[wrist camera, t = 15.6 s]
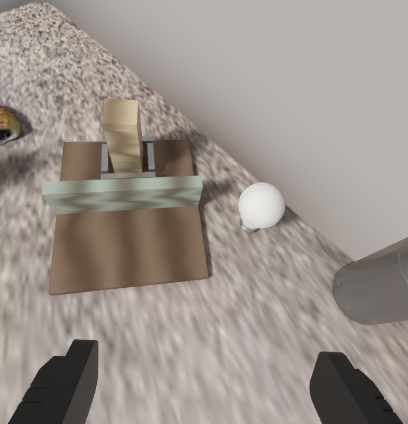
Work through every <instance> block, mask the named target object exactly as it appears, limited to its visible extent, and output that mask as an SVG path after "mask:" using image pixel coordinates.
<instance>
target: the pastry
mask: <svg viewBox="0 0 408 424" xmlns="http://www.w3.org/2000/svg"><path fill="white" fill-rule="evenodd" d="M19 134H20V123H19V121H17V119H16V118H15V117H14V116H13V114H12V113H10V112H9V111H8V110H7V109H5V108H4V107H1V106H0V145H2V144H4V143H6V142H7V141H9V140H12V139H15V138H17V137H18V136H19Z"/></svg>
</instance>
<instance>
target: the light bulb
mask: <svg viewBox="0 0 408 424" xmlns="http://www.w3.org/2000/svg"><path fill="white" fill-rule="evenodd" d="M238 205H239V212H240V215H241V217H242V219H241V222H240V227H241V228H242V230H244V231H245V232H248V233H252V232H254V231H255V230H256V229H257V228H268V227H271V226H273V225H275V224H276V223H278V222H279V221H280V219H281V218H282V216H283V214H284V212H285V199H284V196H283V194H282V193H281V191H280V190H279V189H278V188H277V187H275V186H273V185H271V184H269V183H263V182H262V183H255V184H253V185H251V186H249V187H247V188H246V189H245V190H244V192H243V193H242V194H241V196H240V199H239V204H238Z"/></svg>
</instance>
